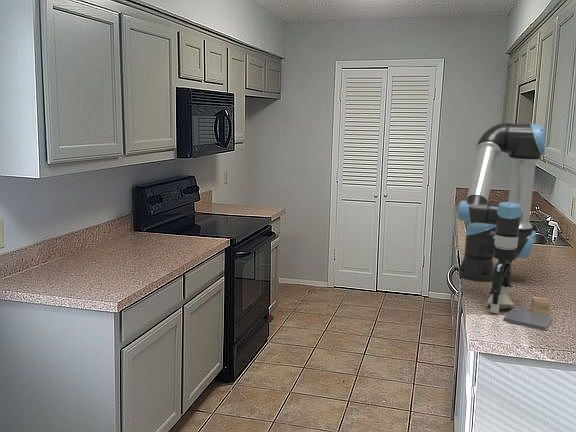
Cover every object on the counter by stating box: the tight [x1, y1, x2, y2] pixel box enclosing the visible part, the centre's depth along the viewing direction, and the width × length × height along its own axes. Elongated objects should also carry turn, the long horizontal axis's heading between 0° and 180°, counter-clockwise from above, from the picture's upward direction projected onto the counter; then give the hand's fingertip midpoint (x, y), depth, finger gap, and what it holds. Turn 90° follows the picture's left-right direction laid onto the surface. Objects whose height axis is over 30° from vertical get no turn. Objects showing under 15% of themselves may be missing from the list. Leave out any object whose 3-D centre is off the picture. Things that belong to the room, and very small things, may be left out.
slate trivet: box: [502, 307, 554, 331], centre depth 190 cm, size 13×13×1 cm
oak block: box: [530, 296, 550, 315], centre depth 198 cm, size 5×5×5 cm
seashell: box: [486, 288, 515, 310], centre depth 202 cm, size 8×8×8 cm
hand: (498, 308), depth 201 cm, fingers open, 11 cm apart
